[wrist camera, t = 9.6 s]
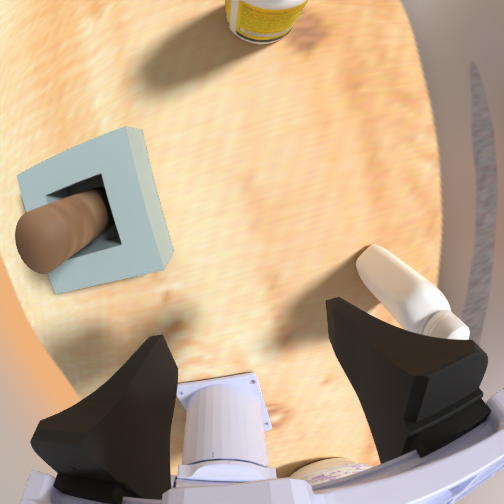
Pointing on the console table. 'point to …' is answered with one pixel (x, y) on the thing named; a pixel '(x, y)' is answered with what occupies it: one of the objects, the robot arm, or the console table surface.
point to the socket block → (121, 202)
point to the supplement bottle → (262, 18)
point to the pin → (62, 228)
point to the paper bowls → (328, 470)
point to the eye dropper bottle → (408, 295)
